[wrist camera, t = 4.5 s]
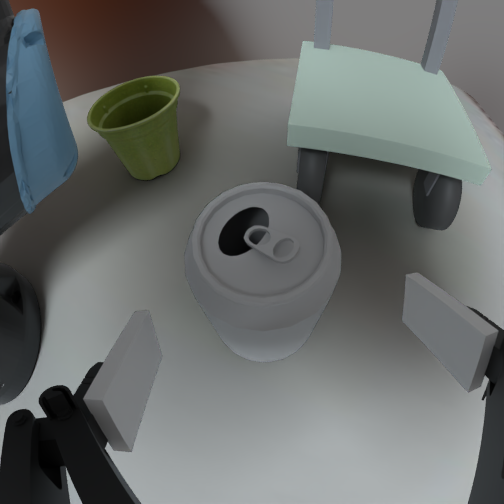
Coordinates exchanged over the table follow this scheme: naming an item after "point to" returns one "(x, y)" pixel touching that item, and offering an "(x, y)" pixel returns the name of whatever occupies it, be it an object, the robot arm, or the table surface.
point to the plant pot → (140, 124)
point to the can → (263, 268)
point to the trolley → (385, 116)
